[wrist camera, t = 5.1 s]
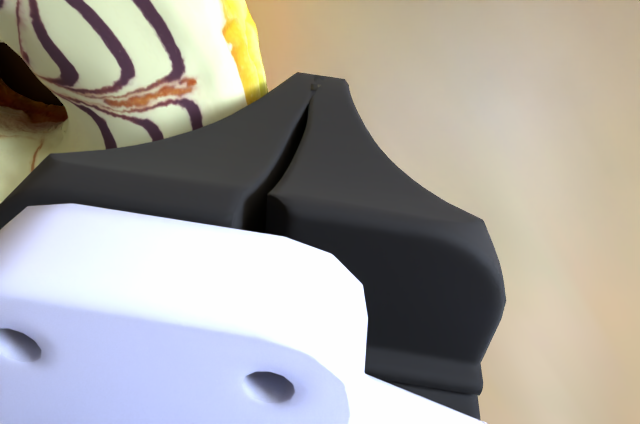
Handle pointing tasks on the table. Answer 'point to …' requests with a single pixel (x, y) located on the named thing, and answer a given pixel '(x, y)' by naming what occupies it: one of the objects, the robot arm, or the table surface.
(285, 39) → the table surface
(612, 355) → the table surface
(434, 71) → the table surface
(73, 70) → the decorated donut
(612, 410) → the table surface
